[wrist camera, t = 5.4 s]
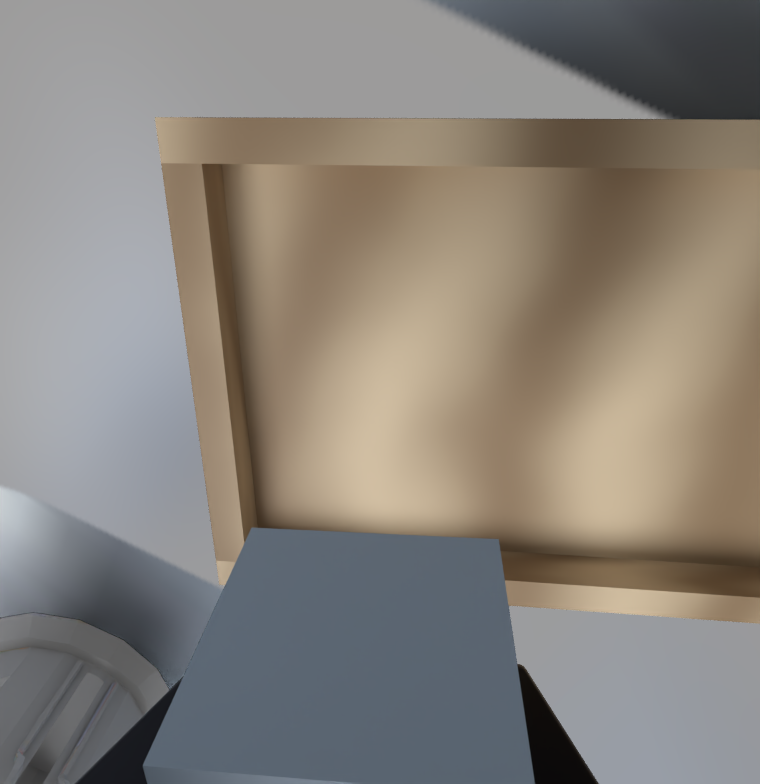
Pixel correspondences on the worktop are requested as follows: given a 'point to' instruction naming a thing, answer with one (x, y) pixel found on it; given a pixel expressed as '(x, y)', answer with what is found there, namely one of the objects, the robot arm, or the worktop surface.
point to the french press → (66, 696)
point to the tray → (483, 343)
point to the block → (352, 668)
